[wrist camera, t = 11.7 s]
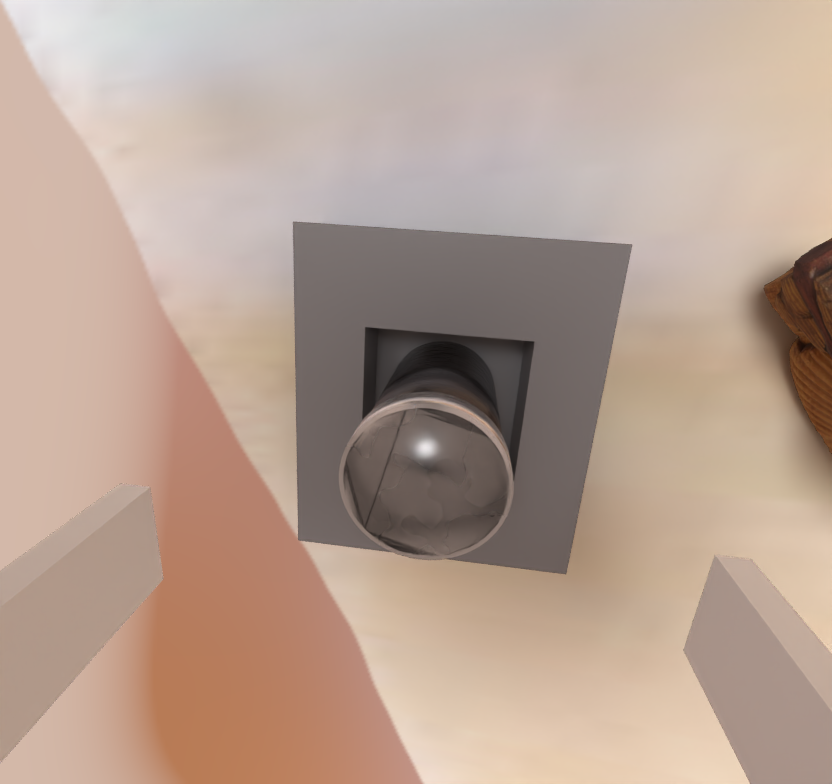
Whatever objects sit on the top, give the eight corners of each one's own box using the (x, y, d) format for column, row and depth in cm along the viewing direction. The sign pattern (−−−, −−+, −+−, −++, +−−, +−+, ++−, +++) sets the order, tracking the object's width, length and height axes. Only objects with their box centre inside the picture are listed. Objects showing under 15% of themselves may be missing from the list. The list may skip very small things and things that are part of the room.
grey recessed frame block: (321, 224, 24) (293, 221, 20) (605, 243, 23) (632, 244, 19) (321, 500, 29) (298, 540, 25) (553, 528, 28) (566, 574, 24)
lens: (390, 333, 24) (339, 395, 15) (503, 342, 24) (524, 412, 14) (386, 436, 26) (338, 549, 17) (491, 446, 26) (503, 569, 16)
